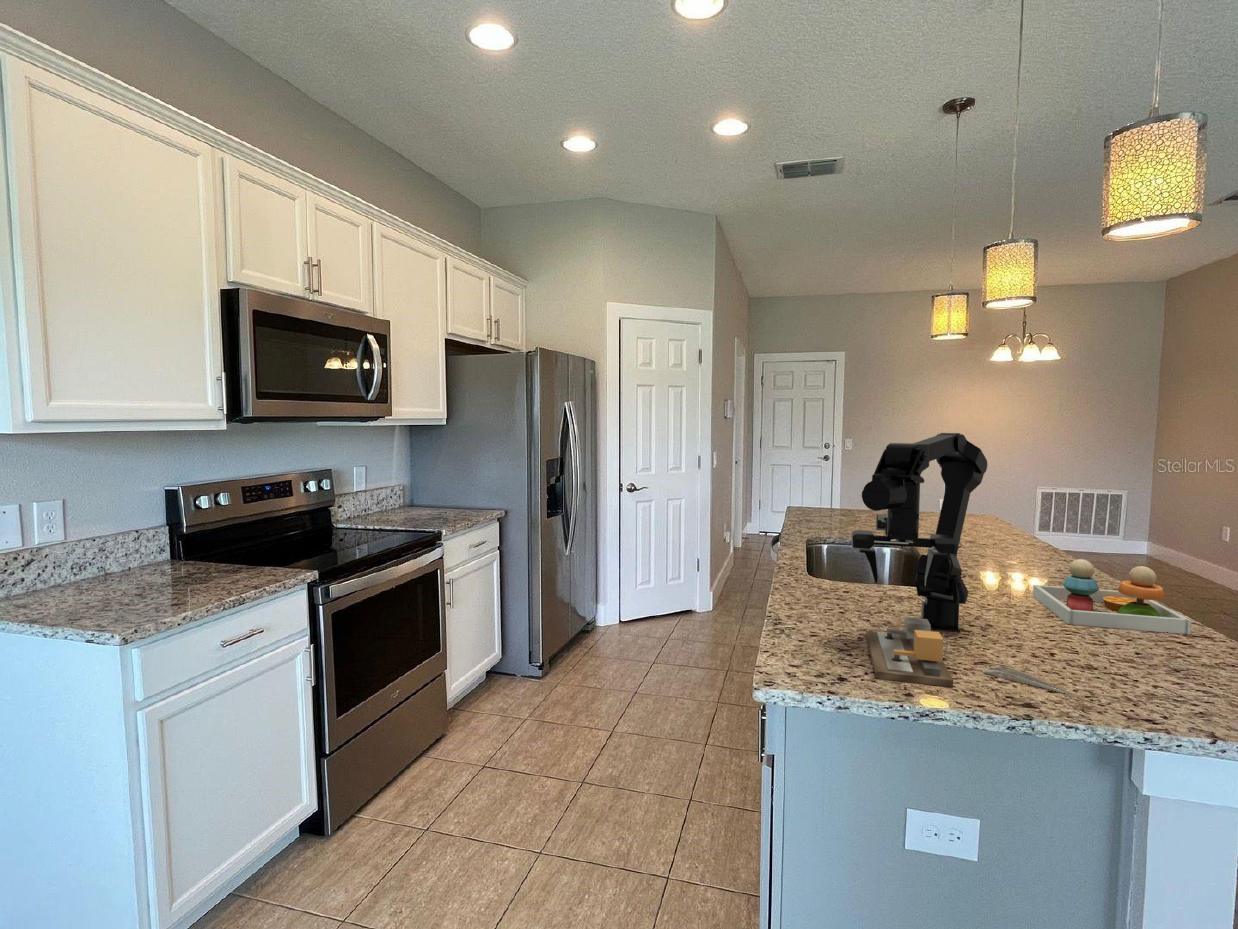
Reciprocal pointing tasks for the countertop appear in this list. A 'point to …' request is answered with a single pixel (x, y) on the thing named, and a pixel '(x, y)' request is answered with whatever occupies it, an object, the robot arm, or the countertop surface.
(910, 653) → the orange block with tab
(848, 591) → the countertop surface
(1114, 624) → the parts tray
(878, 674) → the board
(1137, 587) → the colourful wooden stacking toy
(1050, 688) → the grey tweezers
